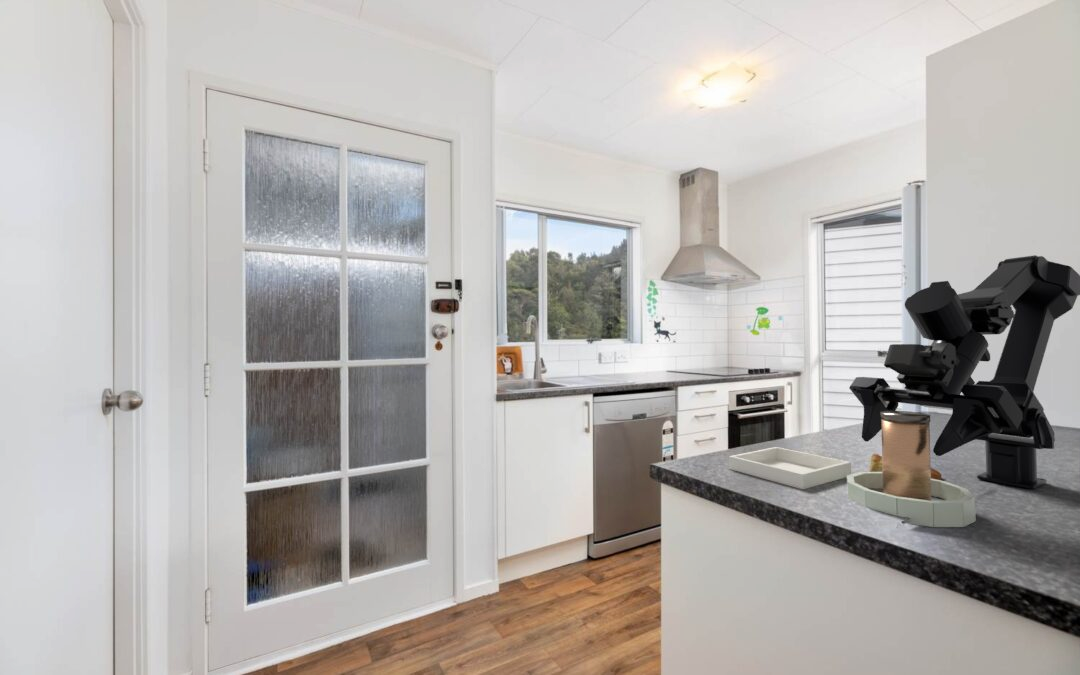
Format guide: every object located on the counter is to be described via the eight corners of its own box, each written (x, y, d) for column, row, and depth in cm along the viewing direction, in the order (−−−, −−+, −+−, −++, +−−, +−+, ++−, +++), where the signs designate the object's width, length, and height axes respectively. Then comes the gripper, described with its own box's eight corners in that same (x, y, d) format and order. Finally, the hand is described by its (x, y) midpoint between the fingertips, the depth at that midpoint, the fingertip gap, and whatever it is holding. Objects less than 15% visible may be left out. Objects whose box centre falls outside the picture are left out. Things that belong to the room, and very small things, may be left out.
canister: (881, 493, 67) (880, 409, 67) (930, 501, 64) (928, 412, 64) (882, 504, 62) (880, 414, 63) (934, 513, 59) (932, 418, 59)
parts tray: (776, 462, 87) (776, 446, 87) (851, 480, 75) (850, 462, 75) (729, 473, 80) (728, 456, 80) (803, 494, 69) (802, 474, 69)
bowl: (876, 486, 72) (876, 467, 72) (991, 513, 60) (990, 490, 60) (828, 501, 66) (827, 480, 66) (945, 535, 54) (945, 510, 54)
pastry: (941, 480, 75) (940, 457, 75) (942, 492, 70) (942, 467, 70) (870, 471, 81) (870, 449, 81) (867, 480, 76) (866, 457, 76)
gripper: (856, 326, 73) (805, 399, 70) (1005, 320, 56) (948, 417, 52) (891, 373, 76) (844, 446, 72) (1046, 382, 58) (994, 479, 54)
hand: (897, 446), depth 63 cm, fingers open, 9 cm apart
